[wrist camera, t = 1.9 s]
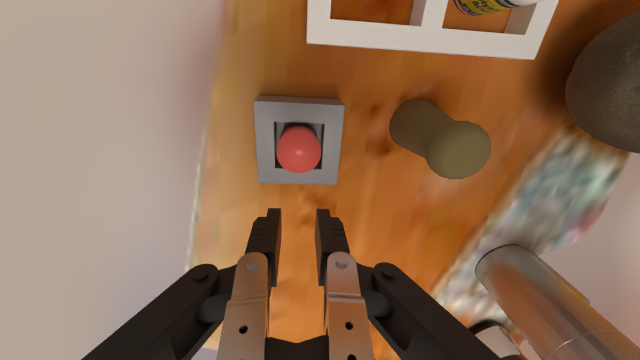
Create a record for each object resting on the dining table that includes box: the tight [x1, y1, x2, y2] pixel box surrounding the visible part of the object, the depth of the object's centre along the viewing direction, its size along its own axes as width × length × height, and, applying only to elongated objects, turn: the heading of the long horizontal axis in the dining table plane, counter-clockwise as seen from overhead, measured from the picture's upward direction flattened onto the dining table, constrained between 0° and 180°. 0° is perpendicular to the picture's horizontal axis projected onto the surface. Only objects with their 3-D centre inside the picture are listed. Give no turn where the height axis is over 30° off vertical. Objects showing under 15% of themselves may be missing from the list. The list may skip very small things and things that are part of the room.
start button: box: [277, 124, 321, 174], centre depth 25 cm, size 4×4×3 cm
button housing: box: [253, 95, 345, 185], centre depth 28 cm, size 9×9×4 cm
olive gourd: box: [389, 99, 491, 179], centre depth 25 cm, size 6×6×11 cm
